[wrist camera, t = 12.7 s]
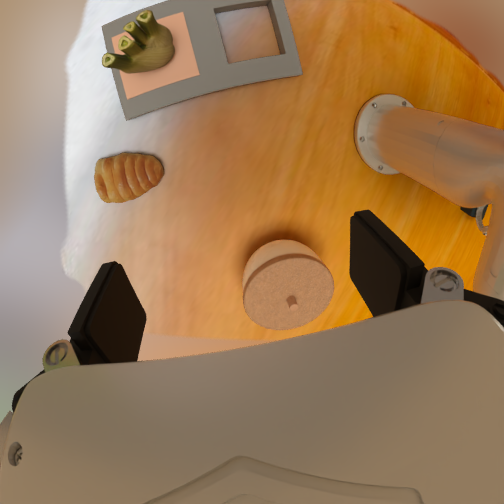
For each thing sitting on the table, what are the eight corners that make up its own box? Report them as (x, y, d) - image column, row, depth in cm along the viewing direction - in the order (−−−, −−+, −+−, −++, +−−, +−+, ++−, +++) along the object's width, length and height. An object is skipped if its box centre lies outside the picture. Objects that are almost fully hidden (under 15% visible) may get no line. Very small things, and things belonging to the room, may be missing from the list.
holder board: (273, -13, 23) (277, -21, 21) (297, 75, 31) (303, 74, 28) (108, 30, 24) (100, 25, 21) (131, 119, 31) (125, 120, 29)
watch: (457, 217, 46) (492, 244, 36) (469, 182, 42) (507, 204, 33) (470, 221, 47) (503, 246, 38) (482, 188, 43) (518, 210, 34)
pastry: (159, 142, 33) (153, 147, 30) (169, 189, 37) (165, 198, 34) (96, 159, 33) (85, 166, 30) (108, 202, 36) (100, 213, 33)
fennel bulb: (139, 81, 26) (103, 74, 16) (125, 49, 24) (84, 31, 14) (184, 59, 26) (169, 38, 16) (169, 27, 23) (148, -6, 13)
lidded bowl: (220, 263, 44) (224, 312, 35) (281, 209, 41) (303, 247, 31) (272, 303, 50) (285, 351, 40) (328, 259, 46) (355, 301, 37)
